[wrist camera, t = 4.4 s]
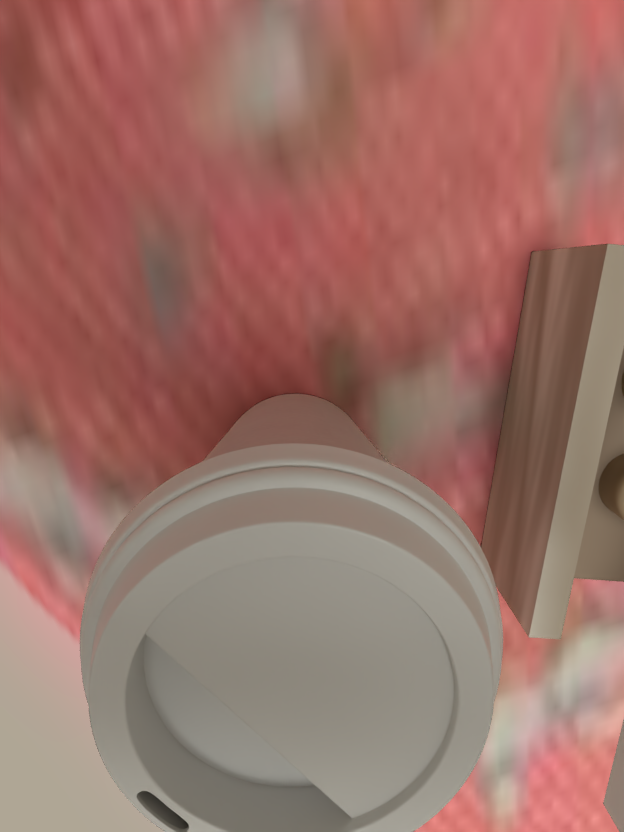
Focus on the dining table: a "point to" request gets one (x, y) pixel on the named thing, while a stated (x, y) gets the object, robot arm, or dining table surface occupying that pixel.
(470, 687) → the coffee cup
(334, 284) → the dining table surface
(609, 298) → the peg stand
